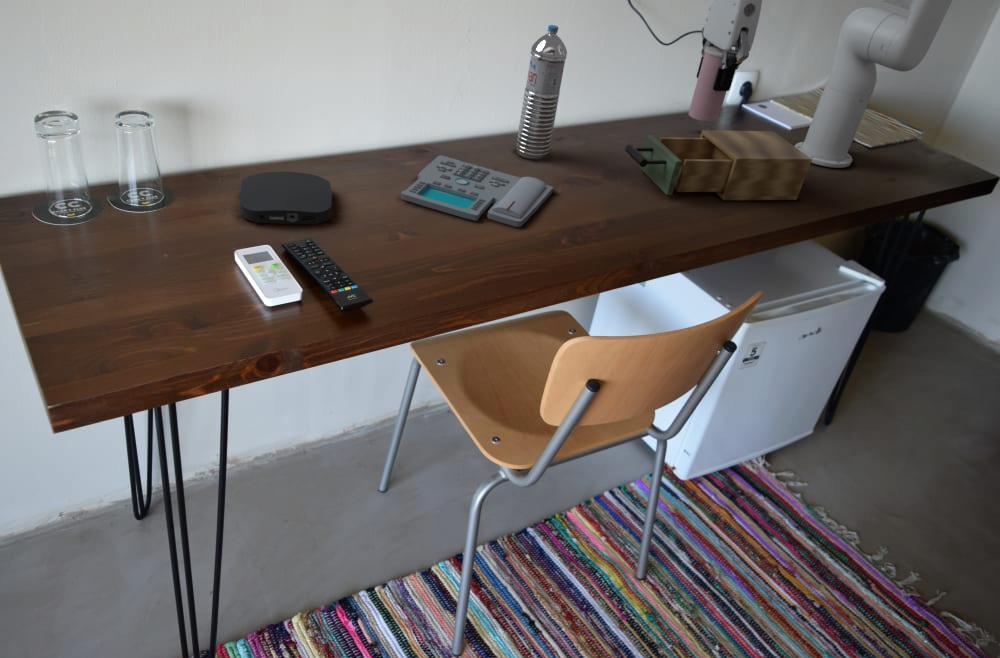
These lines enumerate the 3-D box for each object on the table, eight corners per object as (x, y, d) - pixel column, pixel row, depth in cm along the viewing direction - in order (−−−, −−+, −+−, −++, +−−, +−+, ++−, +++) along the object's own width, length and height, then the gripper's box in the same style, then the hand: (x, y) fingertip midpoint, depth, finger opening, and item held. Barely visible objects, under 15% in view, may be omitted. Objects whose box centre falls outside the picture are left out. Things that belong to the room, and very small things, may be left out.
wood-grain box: (723, 200, 156) (737, 158, 151) (690, 170, 167) (702, 129, 162) (796, 199, 160) (812, 159, 155) (759, 170, 171) (773, 131, 166)
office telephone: (555, 179, 149) (521, 221, 134) (552, 192, 151) (519, 235, 135) (440, 148, 155) (395, 184, 139) (438, 161, 156) (394, 198, 141)
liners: (698, 108, 156) (716, 44, 148) (725, 118, 152) (744, 53, 145) (681, 114, 152) (698, 48, 145) (708, 124, 149) (727, 57, 142)
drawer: (639, 195, 152) (648, 161, 148) (613, 166, 161) (621, 134, 157) (738, 194, 157) (749, 161, 153) (706, 167, 167) (716, 135, 163)
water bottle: (546, 163, 161) (569, 33, 147) (512, 157, 162) (533, 27, 147) (550, 151, 167) (573, 25, 152) (517, 145, 168) (537, 19, 153)
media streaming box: (329, 187, 142) (329, 171, 140) (332, 226, 130) (333, 209, 128) (243, 184, 139) (242, 168, 137) (239, 224, 127) (238, 207, 125)
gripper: (789, -8, 132) (754, 101, 143) (736, -32, 145) (708, 69, 156) (748, -10, 130) (716, 100, 141) (699, -34, 143) (673, 68, 154)
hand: (712, 83), depth 148 cm, fingers closed on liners, 5 cm apart
